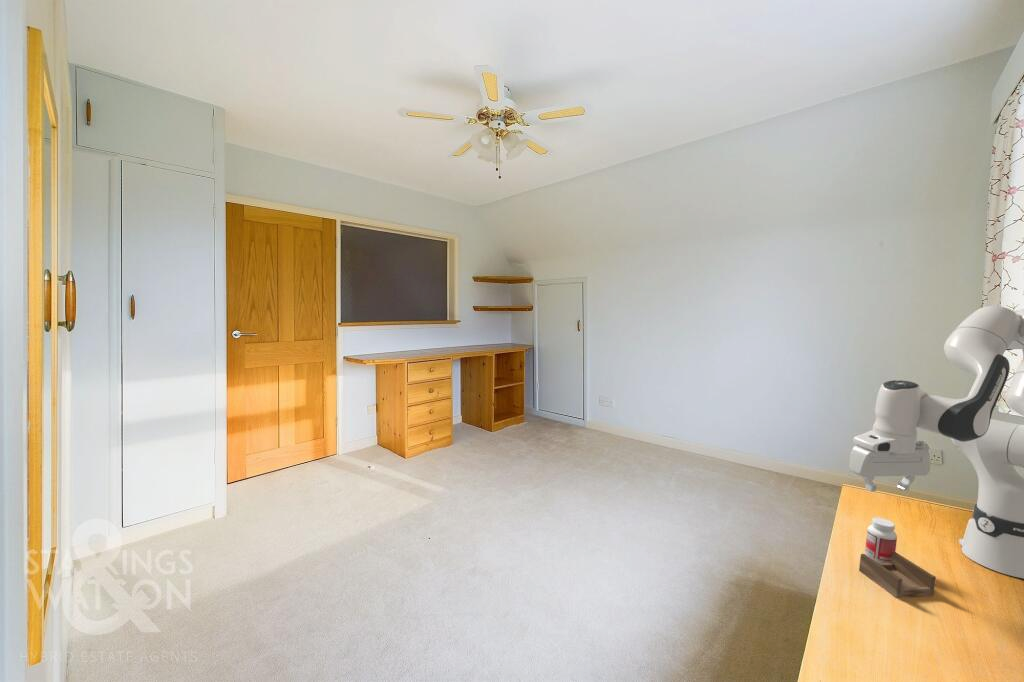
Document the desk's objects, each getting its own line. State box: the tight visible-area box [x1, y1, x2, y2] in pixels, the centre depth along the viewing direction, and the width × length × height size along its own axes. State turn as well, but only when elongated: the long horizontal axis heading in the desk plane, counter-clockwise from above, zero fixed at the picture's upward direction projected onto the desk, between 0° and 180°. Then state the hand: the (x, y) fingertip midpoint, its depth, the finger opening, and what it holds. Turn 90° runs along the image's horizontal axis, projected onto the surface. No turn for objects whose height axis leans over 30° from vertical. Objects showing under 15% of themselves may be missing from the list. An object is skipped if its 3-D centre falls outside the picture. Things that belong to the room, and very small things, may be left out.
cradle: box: [858, 551, 937, 599], centre depth 108 cm, size 10×10×5 cm
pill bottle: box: [864, 517, 898, 563], centre depth 117 cm, size 6×6×11 cm
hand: (886, 490), depth 115 cm, fingers open, 8 cm apart
